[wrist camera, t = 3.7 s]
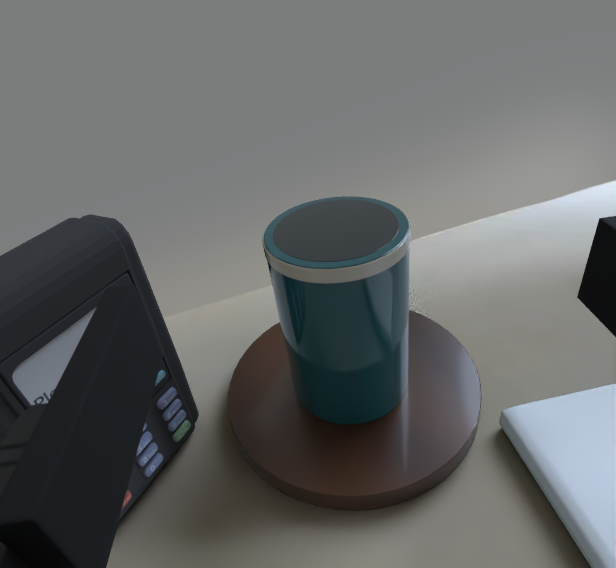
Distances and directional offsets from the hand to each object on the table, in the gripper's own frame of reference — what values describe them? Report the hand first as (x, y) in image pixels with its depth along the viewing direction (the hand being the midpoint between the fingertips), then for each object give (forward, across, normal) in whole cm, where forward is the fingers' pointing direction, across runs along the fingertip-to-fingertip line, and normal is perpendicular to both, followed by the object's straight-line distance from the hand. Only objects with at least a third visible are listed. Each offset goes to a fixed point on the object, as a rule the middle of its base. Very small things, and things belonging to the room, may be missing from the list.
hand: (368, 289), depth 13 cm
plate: (+10, 0, -15) cm, 18 cm away
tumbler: (+10, 0, -14) cm, 17 cm away
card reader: (+6, -13, -16) cm, 22 cm away
